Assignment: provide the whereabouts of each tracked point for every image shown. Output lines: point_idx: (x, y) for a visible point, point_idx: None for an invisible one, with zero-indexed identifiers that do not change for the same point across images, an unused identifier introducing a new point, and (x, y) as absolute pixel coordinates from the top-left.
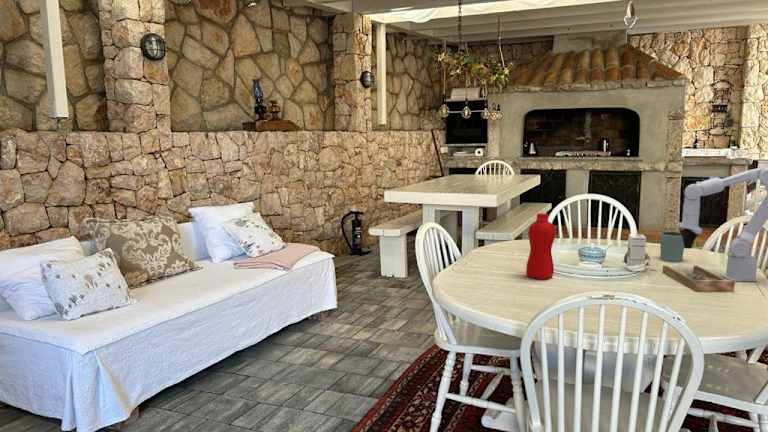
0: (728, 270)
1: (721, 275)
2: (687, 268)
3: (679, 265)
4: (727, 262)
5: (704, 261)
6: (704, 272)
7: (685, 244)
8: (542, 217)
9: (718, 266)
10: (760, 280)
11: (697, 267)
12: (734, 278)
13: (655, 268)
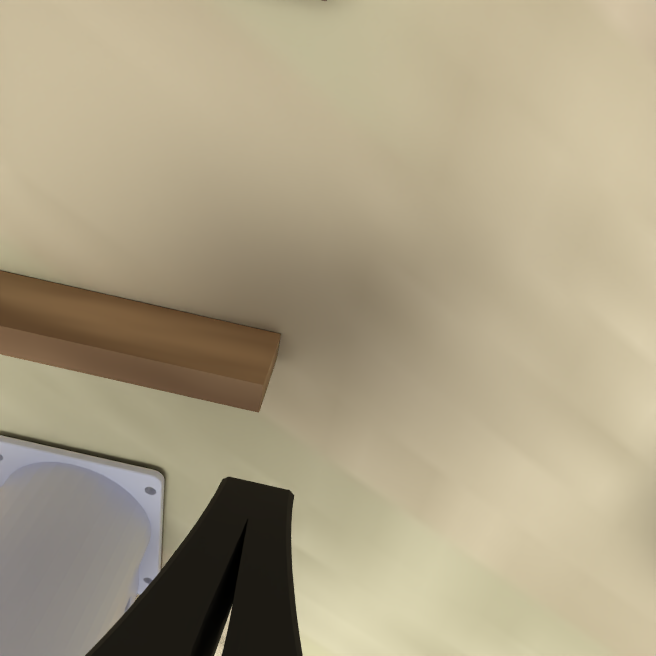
0: (34, 513)
1: (144, 469)
2: (456, 404)
3: (591, 416)
4: (34, 587)
5: (604, 653)
6: (32, 319)
7: (202, 536)
8: None
9: (435, 629)
10: None
11: (178, 365)
12: (13, 472)
13: (608, 15)
